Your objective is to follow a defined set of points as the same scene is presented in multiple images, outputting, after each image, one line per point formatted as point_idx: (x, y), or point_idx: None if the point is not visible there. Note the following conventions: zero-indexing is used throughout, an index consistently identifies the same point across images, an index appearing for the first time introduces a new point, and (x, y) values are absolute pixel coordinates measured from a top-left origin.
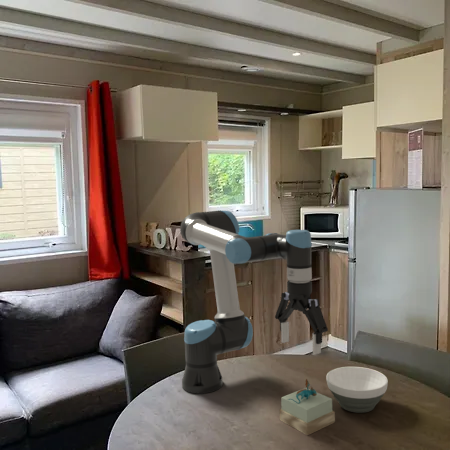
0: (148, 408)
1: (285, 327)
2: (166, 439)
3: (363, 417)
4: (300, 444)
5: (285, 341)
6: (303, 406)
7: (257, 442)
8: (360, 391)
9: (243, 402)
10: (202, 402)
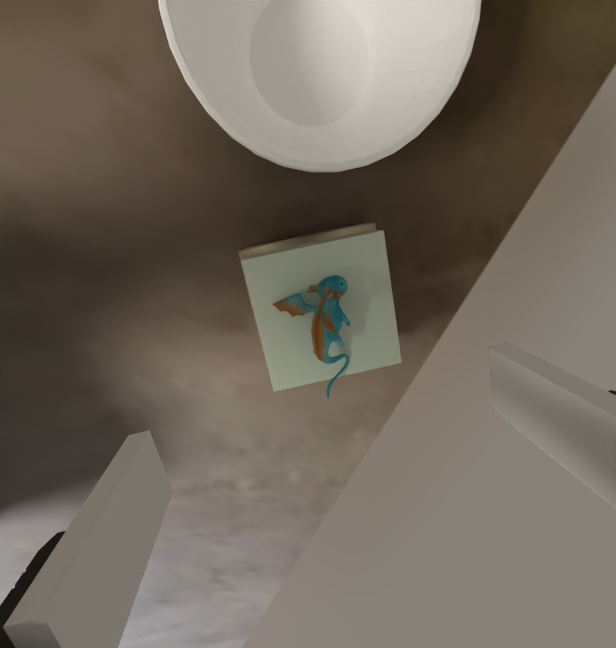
0: None
1: (106, 591)
2: (226, 627)
3: None
4: (408, 379)
5: (160, 472)
6: (375, 359)
7: (344, 464)
8: (447, 100)
9: (107, 411)
10: (56, 517)
